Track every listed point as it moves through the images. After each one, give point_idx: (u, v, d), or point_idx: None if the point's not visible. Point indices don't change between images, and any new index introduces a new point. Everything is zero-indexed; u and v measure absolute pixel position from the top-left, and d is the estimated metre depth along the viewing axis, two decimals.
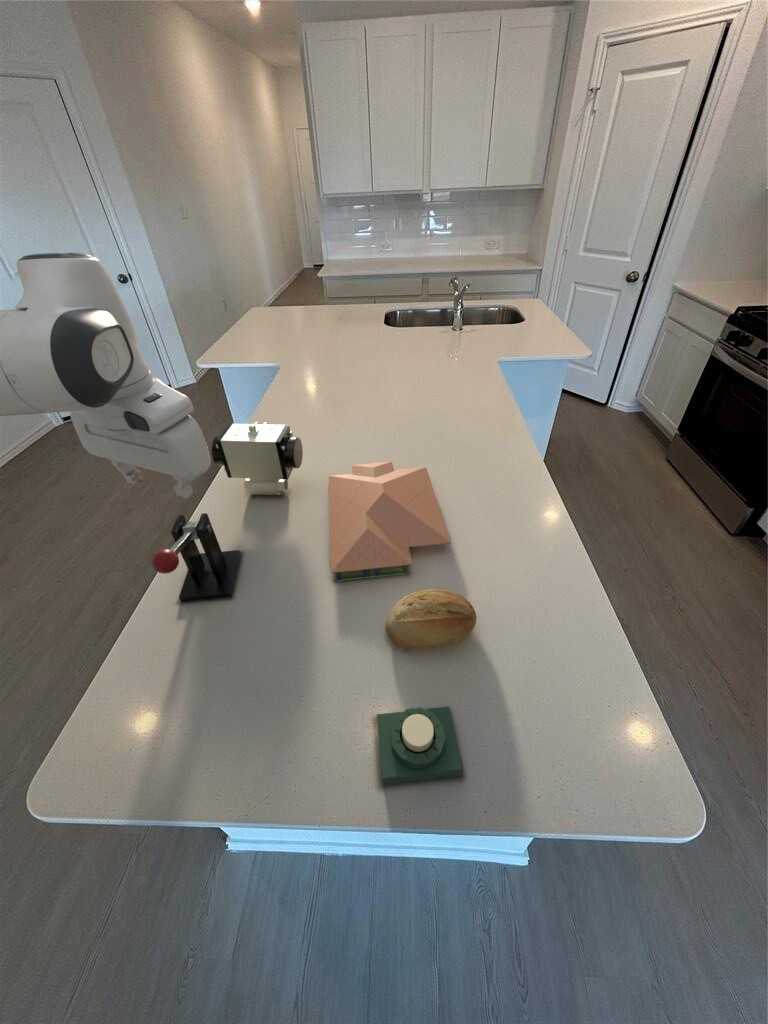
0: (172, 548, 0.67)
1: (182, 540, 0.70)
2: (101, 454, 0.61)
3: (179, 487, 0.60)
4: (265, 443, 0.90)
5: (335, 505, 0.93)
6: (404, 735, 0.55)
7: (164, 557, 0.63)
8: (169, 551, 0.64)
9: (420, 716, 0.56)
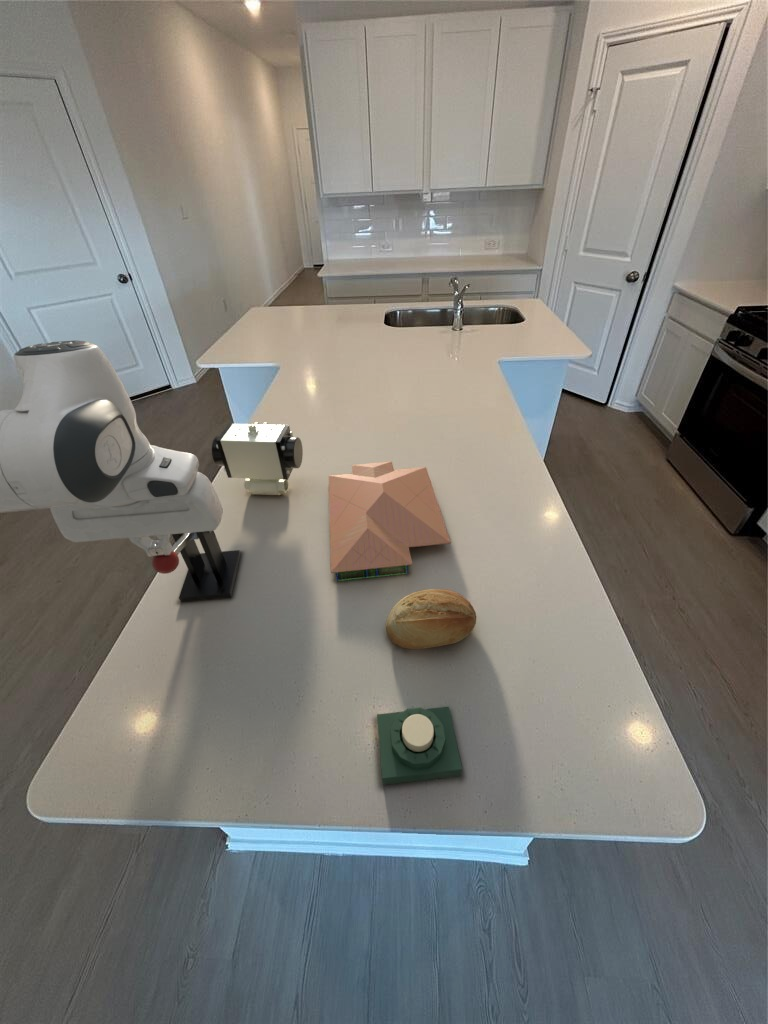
0: (172, 548, 0.67)
1: (182, 540, 0.70)
2: (91, 537, 0.58)
3: (163, 545, 0.61)
4: (265, 443, 0.90)
5: (335, 505, 0.93)
6: (404, 735, 0.55)
7: (164, 557, 0.63)
8: None
9: (420, 716, 0.56)
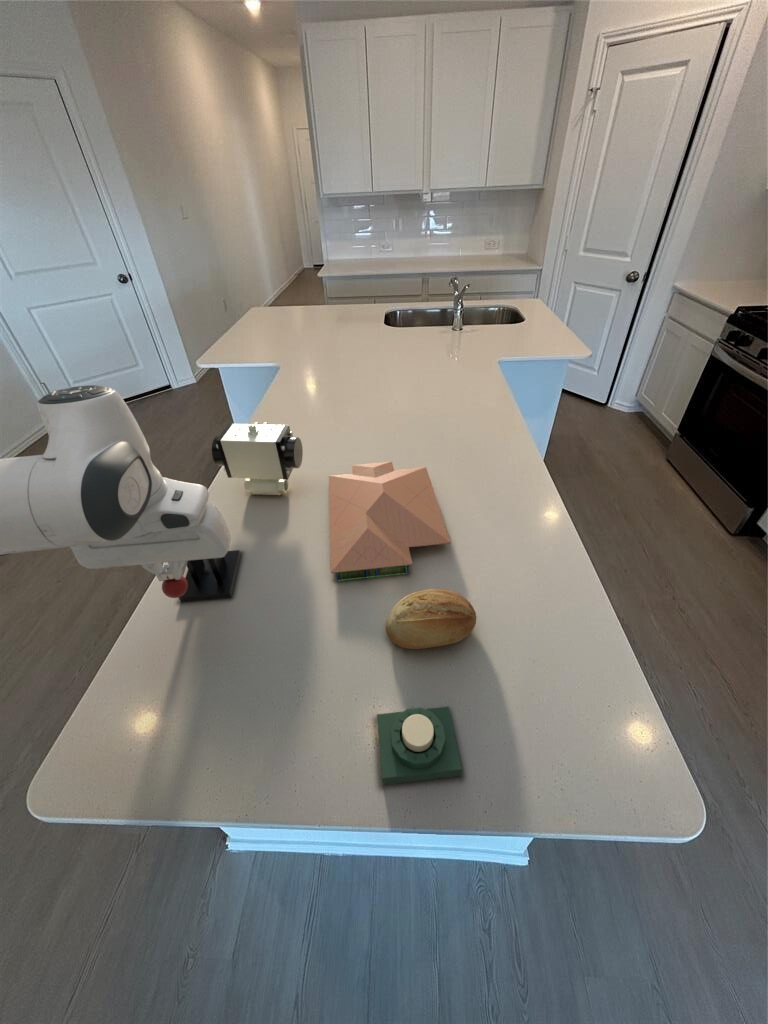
0: None
1: None
2: (106, 565, 0.61)
3: (174, 570, 0.64)
4: (265, 443, 0.90)
5: (335, 505, 0.93)
6: (404, 735, 0.55)
7: (174, 587, 0.65)
8: None
9: (420, 716, 0.56)
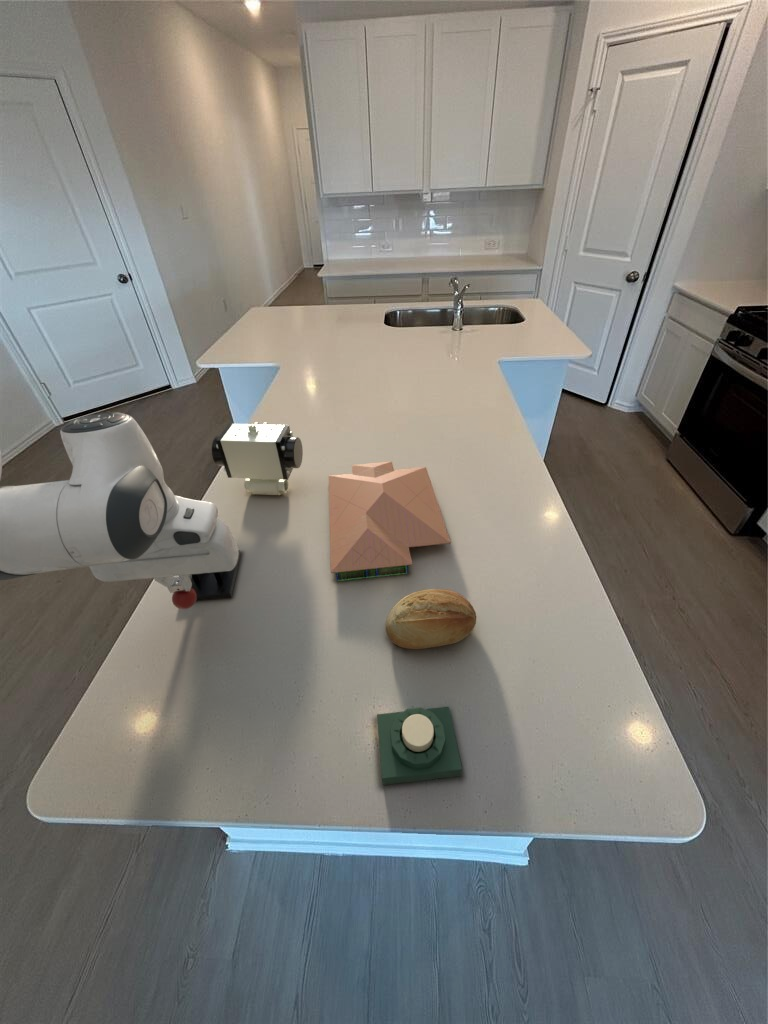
0: None
1: None
2: (120, 578, 0.64)
3: (184, 583, 0.67)
4: (265, 443, 0.90)
5: (334, 505, 0.93)
6: (404, 735, 0.55)
7: (184, 602, 0.68)
8: (186, 594, 0.69)
9: (420, 716, 0.56)
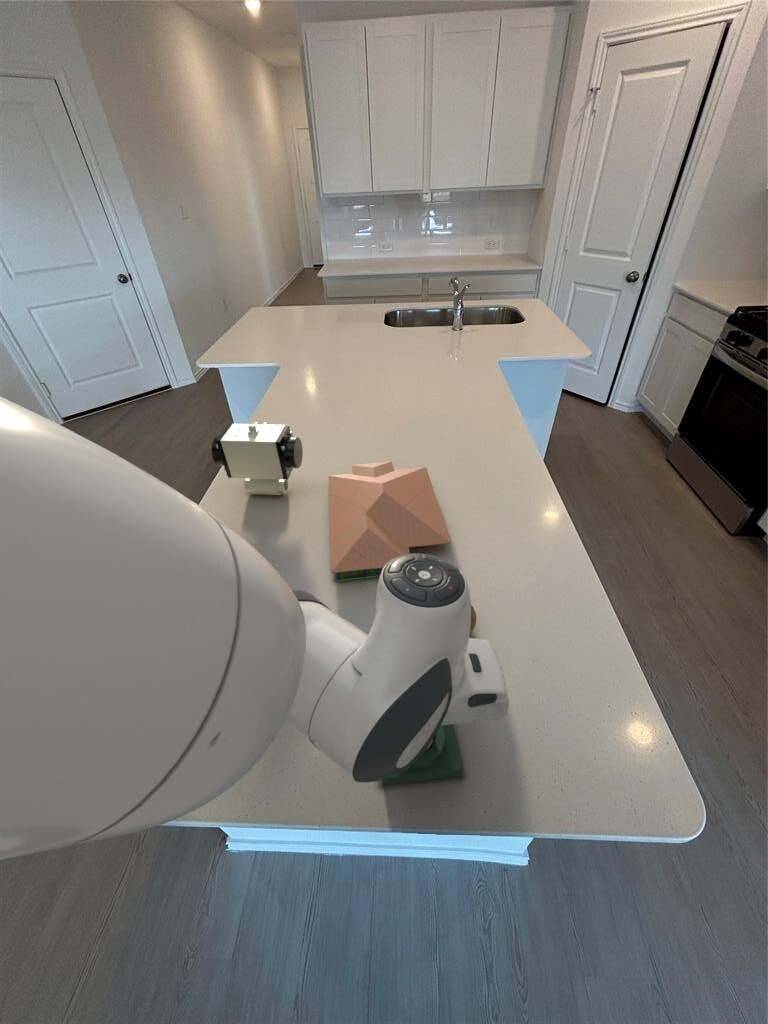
0: None
1: None
2: None
3: None
4: (265, 443, 0.90)
5: (334, 505, 0.93)
6: None
7: None
8: None
9: None
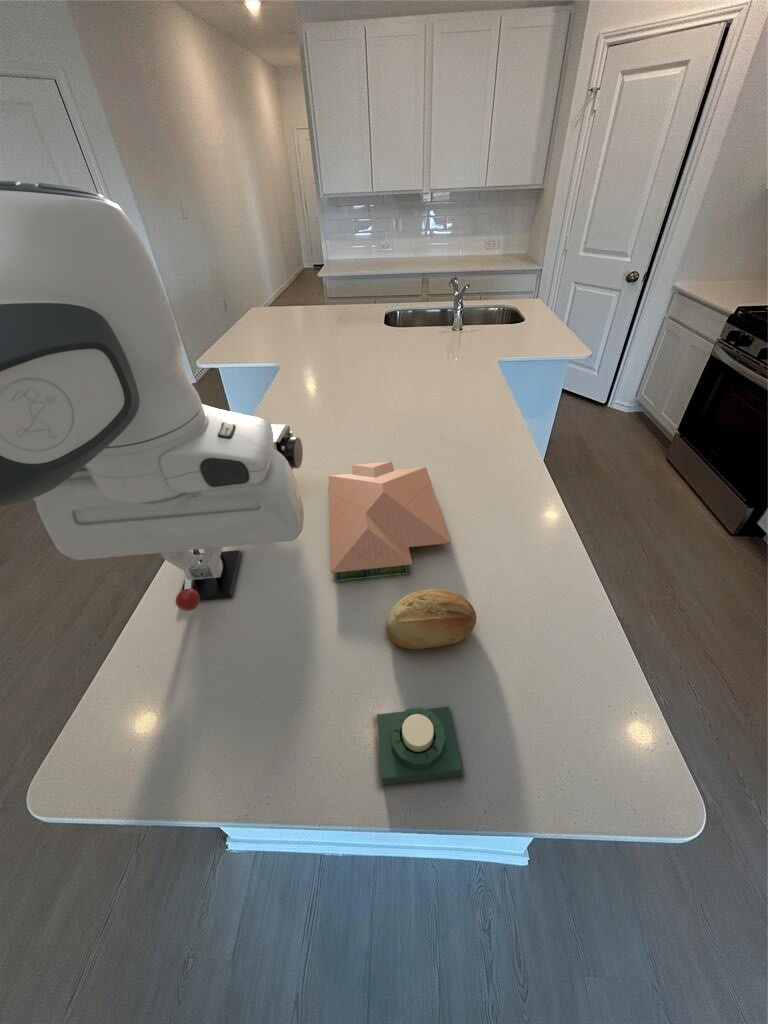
0: None
1: None
2: (103, 553, 0.37)
3: (212, 563, 0.40)
4: None
5: (334, 505, 0.93)
6: (404, 735, 0.55)
7: (188, 605, 0.70)
8: (189, 597, 0.70)
9: (420, 716, 0.56)
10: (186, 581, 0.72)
